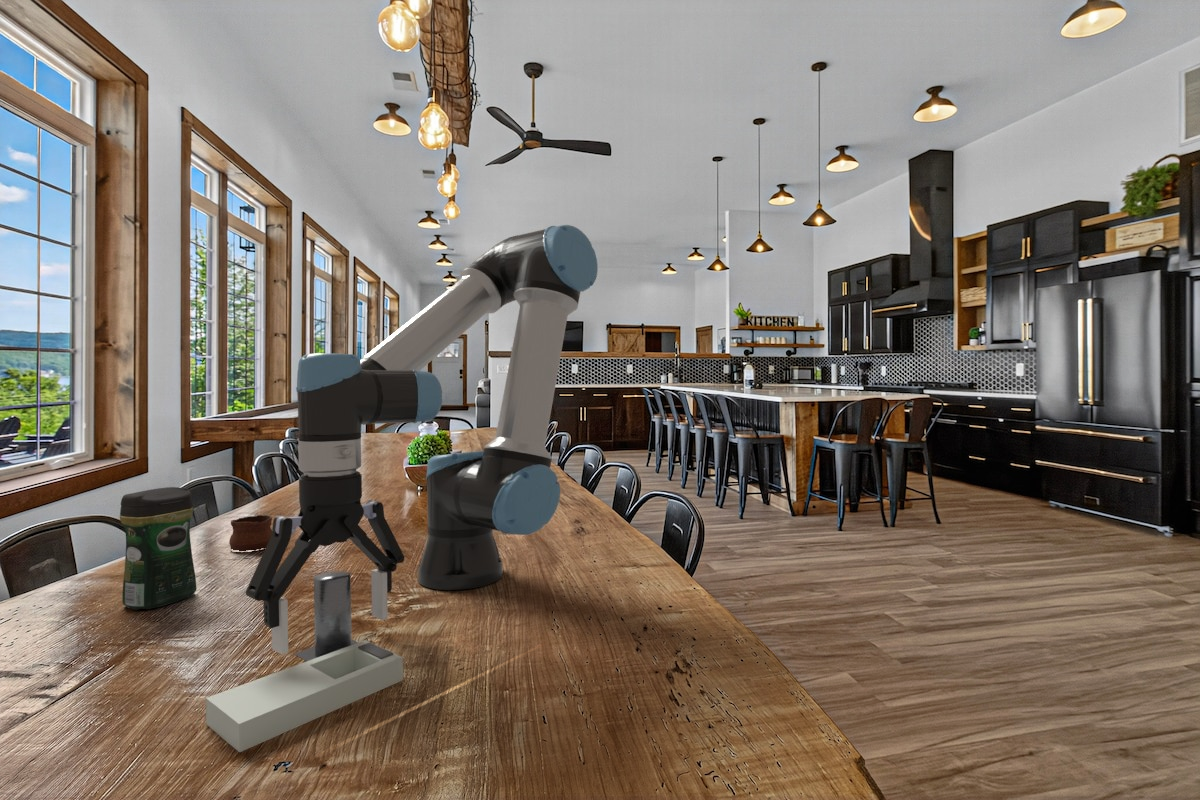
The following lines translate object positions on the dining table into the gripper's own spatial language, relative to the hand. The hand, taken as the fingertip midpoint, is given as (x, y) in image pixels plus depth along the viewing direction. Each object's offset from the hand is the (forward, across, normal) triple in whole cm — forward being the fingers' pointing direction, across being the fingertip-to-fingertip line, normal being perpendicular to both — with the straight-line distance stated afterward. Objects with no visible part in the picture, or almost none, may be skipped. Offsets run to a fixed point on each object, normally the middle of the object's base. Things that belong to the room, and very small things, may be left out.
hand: (333, 633), depth 80 cm
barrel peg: (+2, 0, 0) cm, 2 cm away
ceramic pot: (+3, +17, +65) cm, 67 cm away
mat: (+3, 0, 0) cm, 3 cm away
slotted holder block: (+3, -8, -10) cm, 13 cm away
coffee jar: (+3, -7, +42) cm, 43 cm away
